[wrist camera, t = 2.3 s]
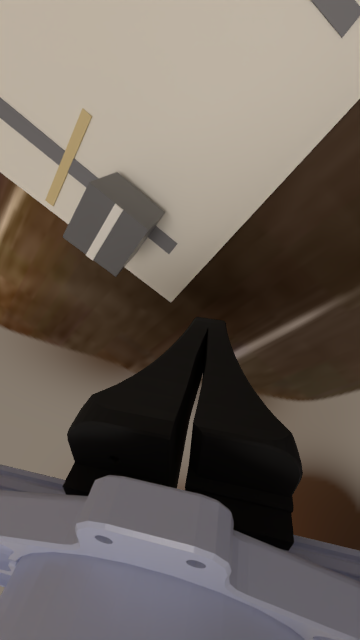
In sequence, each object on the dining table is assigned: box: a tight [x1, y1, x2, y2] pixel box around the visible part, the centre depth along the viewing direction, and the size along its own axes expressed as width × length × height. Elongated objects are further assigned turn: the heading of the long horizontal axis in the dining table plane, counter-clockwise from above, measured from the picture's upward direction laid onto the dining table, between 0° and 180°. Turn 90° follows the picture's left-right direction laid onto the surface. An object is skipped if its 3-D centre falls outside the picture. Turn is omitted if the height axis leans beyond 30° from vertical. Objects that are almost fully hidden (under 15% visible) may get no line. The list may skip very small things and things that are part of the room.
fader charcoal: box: [63, 172, 165, 277], centre depth 14 cm, size 3×3×3 cm
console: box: [0, 0, 360, 302], centre depth 12 cm, size 18×17×2 cm
